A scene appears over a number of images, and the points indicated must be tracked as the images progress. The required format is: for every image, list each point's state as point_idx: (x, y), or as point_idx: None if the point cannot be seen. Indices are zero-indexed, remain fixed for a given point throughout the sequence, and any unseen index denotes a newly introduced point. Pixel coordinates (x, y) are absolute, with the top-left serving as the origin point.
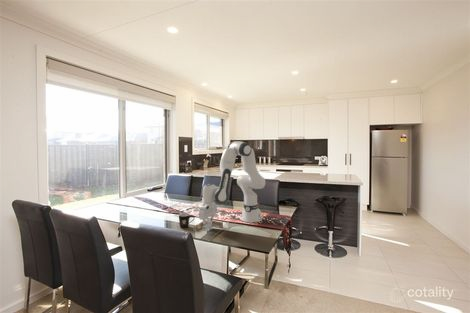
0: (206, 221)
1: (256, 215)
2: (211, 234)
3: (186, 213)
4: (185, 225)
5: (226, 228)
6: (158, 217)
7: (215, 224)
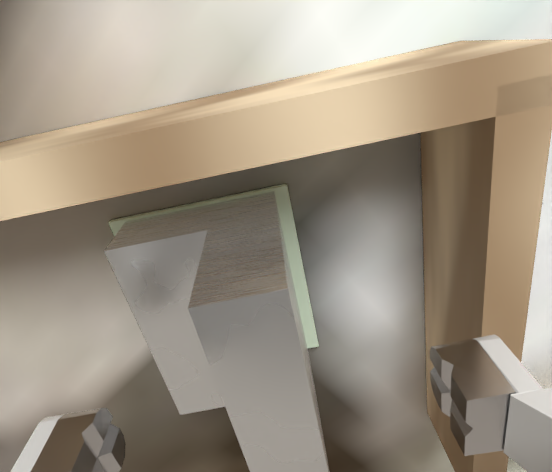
0: (217, 383)
1: None
2: (125, 461)
3: None
4: None
5: (443, 454)
6: None
7: (444, 337)
